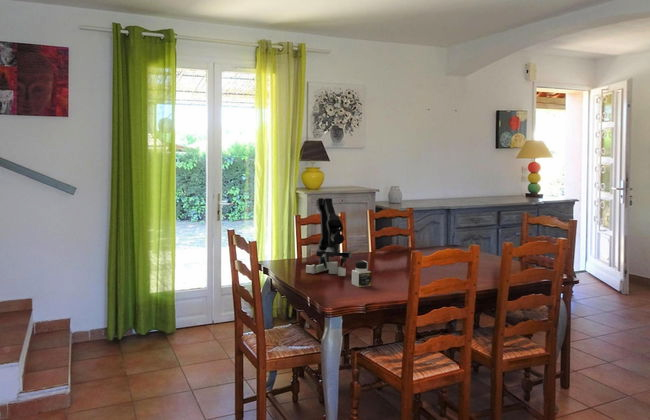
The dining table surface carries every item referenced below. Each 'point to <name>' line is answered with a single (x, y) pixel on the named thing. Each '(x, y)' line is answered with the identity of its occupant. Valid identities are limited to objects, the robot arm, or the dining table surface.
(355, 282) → the medicine bottle
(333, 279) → the dining table surface
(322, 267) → the pale green curved bar
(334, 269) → the grey cube block
